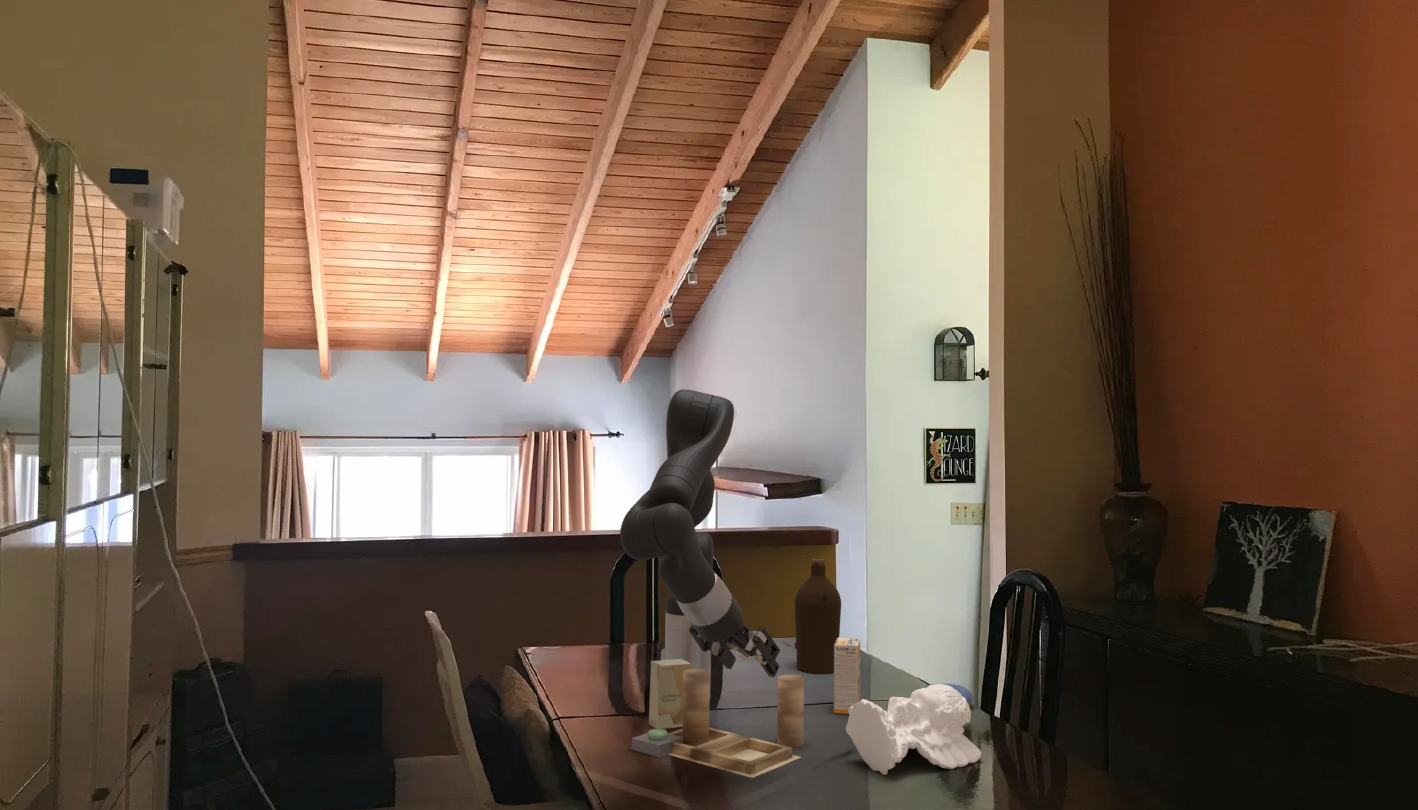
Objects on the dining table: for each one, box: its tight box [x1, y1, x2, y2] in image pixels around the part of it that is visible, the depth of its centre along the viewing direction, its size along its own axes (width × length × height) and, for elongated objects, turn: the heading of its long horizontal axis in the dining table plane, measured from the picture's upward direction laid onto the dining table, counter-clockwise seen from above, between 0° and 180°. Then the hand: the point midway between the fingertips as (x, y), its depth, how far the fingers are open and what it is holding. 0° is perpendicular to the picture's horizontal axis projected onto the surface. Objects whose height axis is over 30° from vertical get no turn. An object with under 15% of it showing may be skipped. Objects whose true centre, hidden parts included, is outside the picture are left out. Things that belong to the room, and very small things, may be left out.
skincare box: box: [648, 659, 691, 730], centre depth 175 cm, size 6×4×12 cm
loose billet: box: [776, 674, 805, 748], centre depth 164 cm, size 4×4×12 cm
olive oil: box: [794, 558, 842, 675], centre depth 225 cm, size 11×11×25 cm
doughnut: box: [923, 682, 974, 709], centre depth 193 cm, size 10×10×5 cm
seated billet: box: [682, 669, 711, 747], centre depth 162 cm, size 4×4×12 cm
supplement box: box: [833, 637, 861, 715], centre depth 191 cm, size 8×5×13 cm, turn 168°
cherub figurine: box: [845, 683, 982, 776], centre depth 160 cm, size 13×12×20 cm
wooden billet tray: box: [666, 726, 802, 779], centre depth 159 cm, size 22×13×3 cm, turn 51°
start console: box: [631, 728, 684, 758], centre depth 160 cm, size 6×6×4 cm
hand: (752, 668), depth 156 cm, fingers open, 8 cm apart
